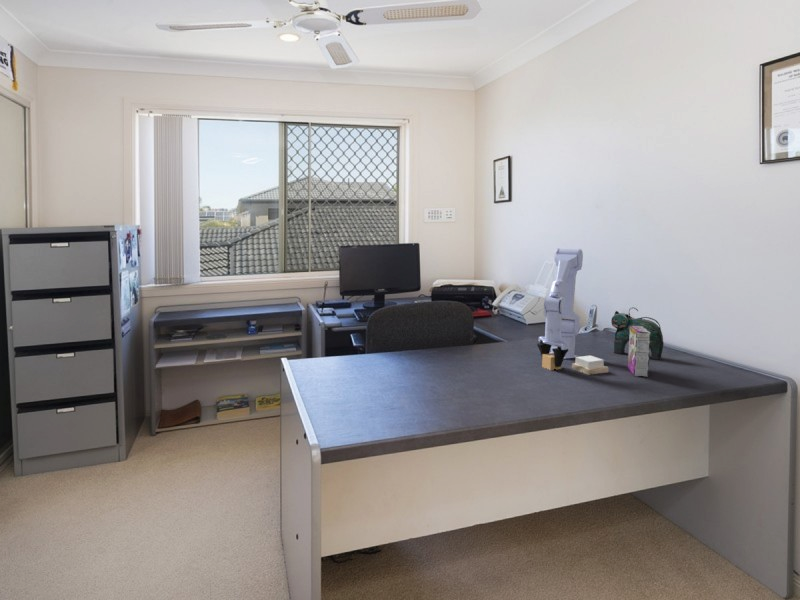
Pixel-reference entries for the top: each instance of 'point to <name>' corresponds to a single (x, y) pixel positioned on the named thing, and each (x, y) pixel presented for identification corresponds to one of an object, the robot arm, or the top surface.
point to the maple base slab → (590, 369)
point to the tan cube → (549, 361)
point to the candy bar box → (639, 351)
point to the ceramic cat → (623, 328)
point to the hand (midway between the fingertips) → (551, 364)
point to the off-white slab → (589, 361)
